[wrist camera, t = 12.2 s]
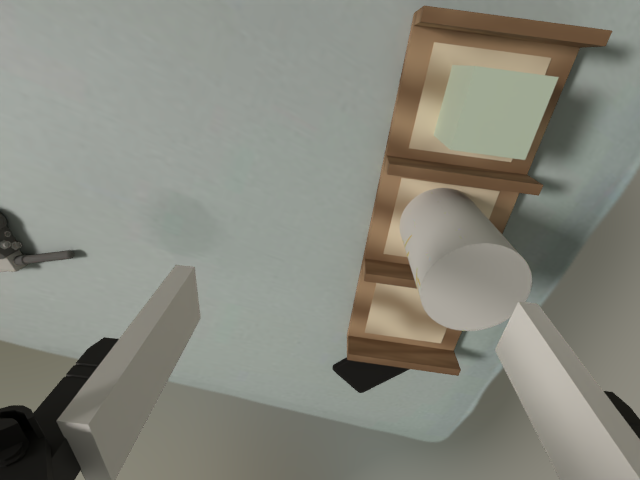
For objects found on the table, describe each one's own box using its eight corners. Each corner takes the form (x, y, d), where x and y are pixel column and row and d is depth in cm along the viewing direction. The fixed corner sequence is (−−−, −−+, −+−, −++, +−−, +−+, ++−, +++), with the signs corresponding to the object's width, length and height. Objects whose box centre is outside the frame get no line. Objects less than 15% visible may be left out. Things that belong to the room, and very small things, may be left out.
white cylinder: (383, 224, 37) (398, 289, 27) (444, 171, 34) (488, 221, 23) (432, 269, 39) (463, 346, 29) (493, 223, 36) (554, 290, 26)
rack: (414, 13, 29) (424, 5, 25) (577, 34, 29) (612, 30, 25) (347, 334, 47) (347, 359, 43) (449, 349, 46) (458, 375, 43)
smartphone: (448, 350, 46) (360, 394, 51) (446, 346, 47) (360, 389, 52) (419, 319, 44) (330, 369, 49) (418, 315, 45) (330, 364, 50)
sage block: (452, 65, 30) (475, 65, 24) (521, 74, 30) (558, 77, 24) (433, 135, 33) (450, 149, 27) (496, 143, 32) (525, 160, 27)
